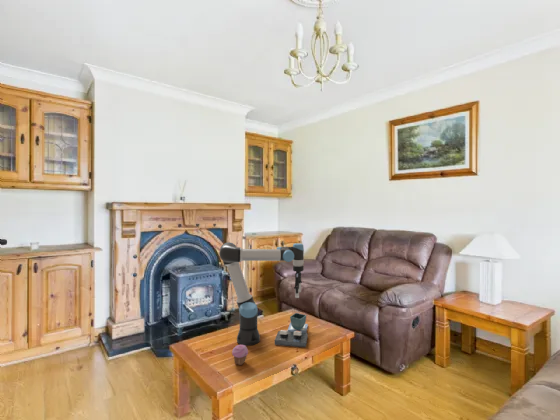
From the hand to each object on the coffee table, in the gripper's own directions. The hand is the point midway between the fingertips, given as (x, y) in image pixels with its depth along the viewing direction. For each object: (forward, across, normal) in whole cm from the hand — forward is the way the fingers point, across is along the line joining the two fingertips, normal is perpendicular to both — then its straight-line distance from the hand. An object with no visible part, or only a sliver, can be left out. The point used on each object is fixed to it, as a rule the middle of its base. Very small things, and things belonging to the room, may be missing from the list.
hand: (298, 294), depth 218 cm
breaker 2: (+19, -20, -2) cm, 28 cm away
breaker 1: (+19, -20, +7) cm, 29 cm away
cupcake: (+25, -52, +27) cm, 64 cm away
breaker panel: (+25, -20, +2) cm, 32 cm away
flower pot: (+23, -3, 0) cm, 23 cm away
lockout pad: (+25, 0, 0) cm, 25 cm away
